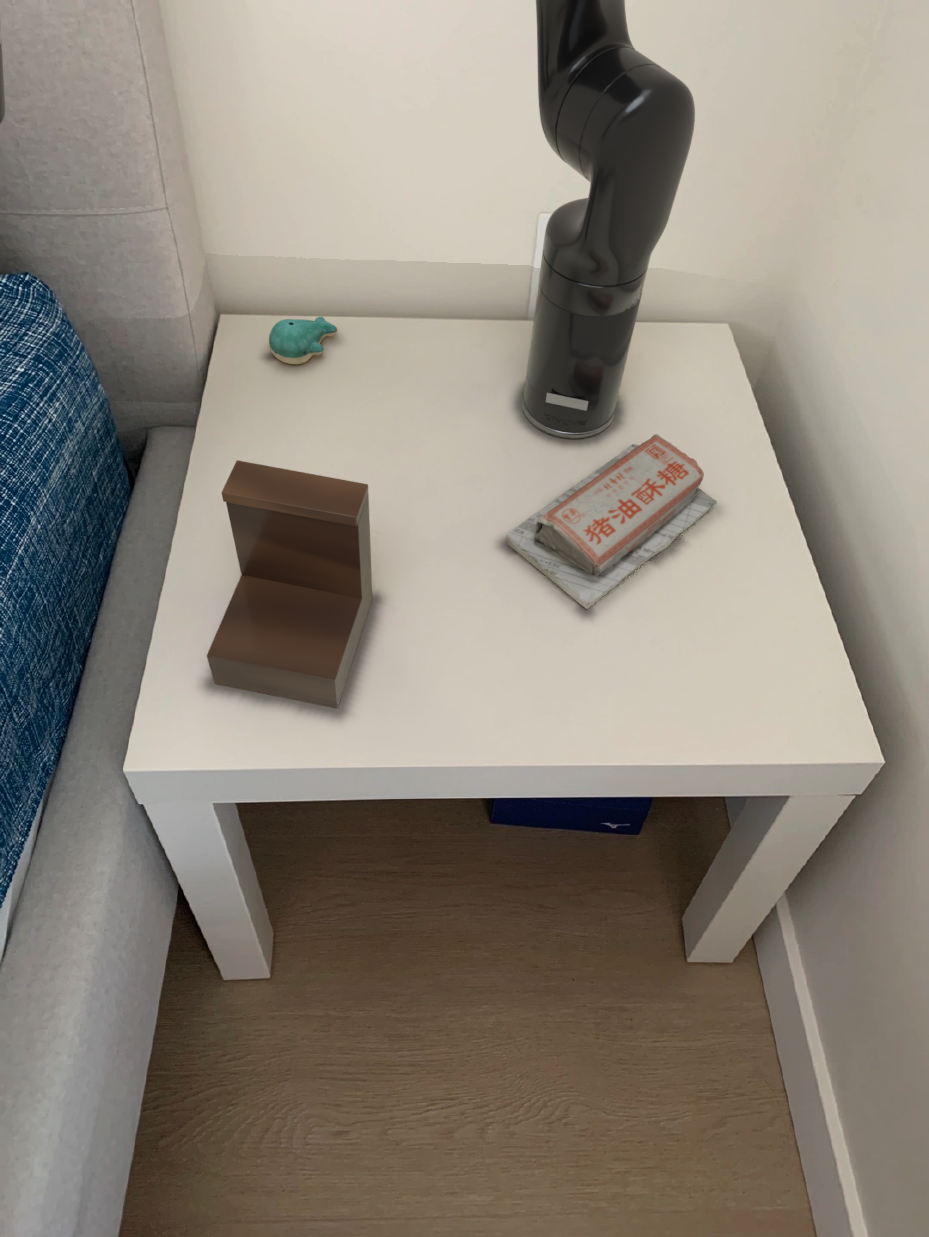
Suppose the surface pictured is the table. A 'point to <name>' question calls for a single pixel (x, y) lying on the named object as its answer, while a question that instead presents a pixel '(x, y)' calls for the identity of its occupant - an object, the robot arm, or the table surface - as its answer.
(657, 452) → the packaged product
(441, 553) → the table surface
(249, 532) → the shelf
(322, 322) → the whale figurine
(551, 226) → the robot arm
